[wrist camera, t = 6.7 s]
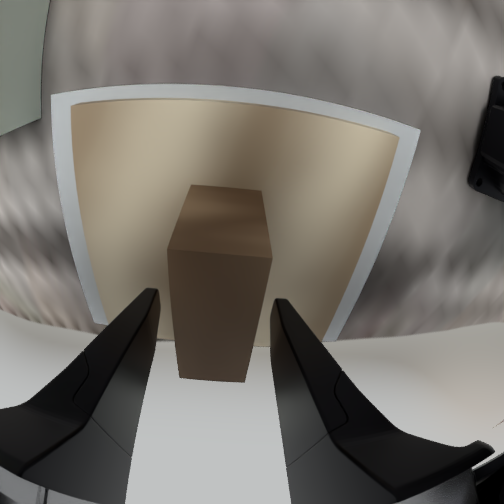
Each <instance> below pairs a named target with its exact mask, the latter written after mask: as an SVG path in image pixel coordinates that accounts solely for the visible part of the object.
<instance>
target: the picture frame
mask: <svg viewBox="0 0 504 504" xmlns="http://www.w3.org/2000/svg"><path fill="white" fill-rule="evenodd" d="M132 98H194V99H213V100H226V101H237V102H246V103H255V104H263V105H270V106H277V107H283V108H289V109H295V110H301V111H306V112H311V113H316V114H321V115H326V116H330V117H335V118H339V119H343V120H347V121H351V122H355V123H359V124H363V125H366V126H370V127H374V128H377V129H380V130H384V131H387V132H390V133H392V134H394V135H396V136H398V137H400V138H399V142H398V145H397V149H396V153H395V156H394V160H393V163H392V166H391V170H390V173H389V176H388V179H387V183H386V186H385V189H384V192H383V195H382V198H381V201H380V204H379V207H378V210H377V213H376V215H375V218H374V221H373V224H372V226H371V229H370V232H369V235H368V237H367V240H366V242H365V245H364V248H363V250H362V253H361V255H360V258H359V260H358V263H357V265H356V267H355V270H354V272H353V275H352V277H351V279H350V282H349V284H348V286H347V289H346V291H345V293H344V295H343V298H342V300H341V302H340V304H339V306H338V309H337V311H336V313H335V315H334V317H333V319H332V321H331V324H330V326H329V328H328V330H327V332H326V334H325V336H324V338H323V340H322V341H336V340H337V338H338V336H339V334H340V332H341V330H342V328H343V327H344V325H345V323H346V321H347V319H348V317H349V315H350V313H351V311H352V309H353V307H354V305H355V303H356V301H357V299H358V297H359V295H360V293H361V291H362V289H363V286H364V284H365V282H366V280H367V278H368V276H369V273H370V271H371V269H372V267H373V264H374V262H375V260H376V258H377V255H378V253H379V251H380V248H381V246H382V243H383V241H384V238H385V236H386V234H387V231H388V228H389V226H390V223H391V221H392V218H393V215H394V213H395V210H396V207H397V205H398V202H399V199H400V196H401V193H402V190H403V187H404V184H405V181H406V178H407V175H408V172H409V169H410V166H411V163H412V159H413V156H414V153H415V149H416V146H417V142H418V138H419V135H420V131H421V130H419V129H417V128H414V127H412V126H409V125H406V124H403V123H400V122H398V121H395V120H392V119H389V118H386V117H382V116H379V115H376V114H373V113H369V112H366V111H362V110H359V109H355V108H351V107H348V106H344V105H340V104H336V103H331V102H327V101H323V100H318V99H313V98H308V97H303V96H298V95H293V94H287V93H281V92H274V91H267V90H260V89H252V88H243V87H233V86H221V85H205V84H135V85H119V86H108V87H98V88H90V89H82V90H75V91H69V92H63V93H57V94H53V95H51V117H52V136H53V149H54V159H55V167H56V175H57V182H58V189H59V195H60V201H61V206H62V212H63V217H64V221H65V226H66V231H67V235H68V239H69V243H70V247H71V251H72V255H73V259H74V262H75V266H76V269H77V273H78V276H79V279H80V283H81V286H82V289H83V292H84V295H85V298H86V301H87V304H88V307H89V310H90V312H91V315H92V318H93V320H94V323H98V324H104V325H109V324H108V321H107V318H106V315H105V312H104V309H103V306H102V302H101V299H100V296H99V292H98V289H97V285H96V282H95V278H94V274H93V270H92V266H91V262H90V258H89V254H88V250H87V245H86V240H85V236H84V231H83V225H82V220H81V214H80V208H79V202H78V196H77V188H76V181H75V172H74V162H73V151H72V135H71V105H75V104H78V103H82V102H91V101H101V100H114V99H132Z"/></svg>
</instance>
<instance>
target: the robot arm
mask: <svg viewBox="0 0 504 504" xmlns="http://www.w3.org/2000/svg"><path fill="white" fill-rule="evenodd" d="M469 185H470V186H471V187H472V188H473V189H475V190H476V191H478V192H481V193H483V194H486V195H488V196H491V197H493V198H495V199H498V200H500V201H502V202H504V77H501V76H496V77H495V78H494V82H493V88H492V94H491V99H490V104H489V109H488V114H487V118H486V122H485V126H484V130H483V134H482V138H481V141H480V145H479V148H478V152H477V155H476V158H475V162H474V165H473V168H472V171H471V174H470V177H469ZM160 312H161V303H160V295H159V290H158V289H157V288H149V287H148V288H145V289H144V290H143V291H142V292H141V293H140V294H139V295H138V296H137V297H136V298H135V299H134V300H133V301H132V302H131V303H130V304H129V305H128V306H127V307H126V308H125V309H124V310H123V311H122V312H121V313H120V314H119V315H118V316H117V317H116V318H115V319H114V320H113V321H112V322H111V323H110V324H109V325H108V326H107V327H106V328H105V329H104V330H103V331H102V332H101V333H100V334H99V335H98V336H97V337H96V338H95V339H94V340H93V341H92V342H91V343H90V344H89V345H88V346H87V347H86V348H85V349H84V351H82V352H81V353H80V355H78V356H77V357H76V358H75V359H74V360H73V361H72V362H71V363H70V364H69V365H68V367H66V369H64V370H63V371H62V372H61V373H60V374H59V375H58V376H56V377H55V378H54V379H53V380H52V381H51V382H49V383H48V384H47V385H46V386H45V387H44V388H43V389H41V390H40V391H39V392H38V393H37V394H36V395H34V396H33V397H32V398H31V399H30V400H28V401H27V402H25V403H23V404H21V405H18V406H14V407H9V408H4V409H0V504H125V499H126V490H127V484H128V478H129V472H130V466H131V460H132V458H131V457H132V453H133V448H134V443H135V437H136V432H137V427H138V422H139V417H140V413H141V407H142V403H143V399H144V394H145V390H146V386H147V382H148V377H149V373H150V368H151V365H152V361H153V357H154V353H155V346H156V340H157V333H158V326H159V319H160ZM270 354H271V355H270V356H271V366H272V373H273V380H274V386H275V393H276V400H277V406H278V413H279V420H280V428H281V435H282V441H283V447H284V455H285V462H286V467H287V468H286V470H287V477H288V484H289V491H290V498H291V504H504V452H503V453H501V454H500V455H498V456H496V457H495V458H493V459H491V460H490V461H488V462H486V463H484V464H482V465H480V466H479V467H477V468H475V469H473V470H472V467H473V466H475V465H476V464H478V463H479V462H481V461H483V460H484V459H486V458H487V457H489V456H490V455H492V454H493V453H494V452H495V450H494V449H493V448H492V447H491V446H490V445H489V444H486V443H484V442H481V441H479V440H477V441H475V442H473V443H471V444H470V445H467V446H465V447H453V446H448V445H445V444H441V443H437V442H434V441H430V440H427V439H423V438H420V437H417V436H414V435H411V434H408V433H405V432H403V431H401V430H400V429H398V428H397V427H395V426H394V425H393V424H392V423H391V422H390V421H389V420H388V419H387V418H386V417H385V416H384V415H383V414H382V413H381V412H380V411H379V410H378V409H377V408H376V407H375V406H374V405H373V404H372V403H371V402H370V401H369V400H368V399H367V398H366V397H365V396H364V395H363V394H362V393H361V392H360V391H359V390H358V388H357V387H356V386H355V385H354V383H353V382H352V381H351V380H350V379H349V377H348V376H347V375H346V374H345V372H344V371H342V369H341V367H340V366H339V365H338V364H337V362H336V361H335V360H334V358H333V357H332V356H331V354H330V353H329V352H328V351H327V349H326V348H325V347H324V345H323V344H322V343H321V342H320V340H319V339H318V338H317V336H316V335H315V334H314V333H313V331H312V330H311V329H310V327H309V326H308V325H307V324H306V322H305V321H304V320H303V318H302V317H301V316H300V315H299V313H298V312H297V311H296V310H295V308H294V307H293V306H292V304H291V303H290V302H289V301H288V299H286V298H276V299H275V300H274V302H273V306H272V310H271V314H270Z"/></svg>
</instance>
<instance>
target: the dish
mask: <svg viewBox="0 0 504 504" xmlns="http://www.w3.org/2000/svg"><path fill="white" fill-rule="evenodd" d="M49 4H50V0H0V136H1V135H3V134H5V133H8V132H10V131H12V130H14V129H16V128H19V127H21V126H23V125H26V124H28V123H30V122H33V121H35V120H38V119H40V118H41V69H42V54H43V43H44V35H45V27H46V21H47V15H48V9H49Z"/></svg>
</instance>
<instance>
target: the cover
mask: <svg viewBox="0 0 504 504" xmlns="http://www.w3.org/2000/svg"><path fill="white" fill-rule="evenodd" d="M71 135H72V151H73V162H74V172H75V181H76V188H77V196H78V202H79V208H80V214H81V220H82V225H83V231H84V236H85V240H86V245H87V250H88V254H89V258H90V262H91V266H92V270H93V274H94V278H95V282H96V285H97V289H98V292H99V296H100V299H101V302H102V306H103V309H104V312H105V315H106V318H107V321H108V324H110V323H111V322H112V321H113V320H114V319H115V318H116V317H117V316H118V315H119V314H120V313H121V312H122V311H123V310H124V309H125V308H126V307H127V306H128V305H129V304H130V303H131V302H132V301H133V300H134V299H135V298H136V297H137V296H138V295H139V294H140V293H141V292H142V291H143V290H144V289H145V288H148V287H149V288H157V289H158V290H159V295H160V303H161V312H160V319H159V326H158V333H157V338H158V339H166V340H175V348H176V355H177V363H178V370H179V377H180V378H187V379H197V380H208V381H209V380H210V381H223V382H245V378H246V374H247V370H248V366H249V362H250V357H251V353H252V349H253V346H257V347H270V314H271V310H272V306H273V302H274V300H275V299H276V298H286V299H288V301H289V302H290V303H291V304H292V306H293V307H294V308H295V310H296V311H297V312H298V313H299V315H300V316H301V317H302V318H303V320H304V321H305V322H306V324H307V325H308V326H309V327H310V329H311V330H312V331H313V333H314V334H315V335H316V336H317V338H318V339H319V340H320V342H322V340H323V338H324V336H325V334H326V332H327V330H328V328H329V326H330V324H331V321H332V319H333V317H334V315H335V313H336V311H337V309H338V306H339V304H340V302H341V300H342V298H343V295H344V293H345V291H346V289H347V286H348V284H349V282H350V279H351V277H352V275H353V272H354V270H355V267H356V265H357V263H358V260H359V258H360V255H361V253H362V250H363V248H364V245H365V242H366V240H367V237H368V235H369V232H370V229H371V226H372V224H373V221H374V218H375V215H376V213H377V210H378V207H379V204H380V201H381V198H382V195H383V192H384V189H385V186H386V183H387V179H388V176H389V173H390V170H391V166H392V163H393V160H394V156H395V153H396V149H397V145H398V142H399V138H400V137H398V136H396V135H394V134H392V133H390V132H387V131H384V130H380V129H377V128H374V127H370V126H366V125H363V124H359V123H355V122H351V121H347V120H343V119H339V118H335V117H330V116H326V115H321V114H316V113H311V112H306V111H301V110H295V109H289V108H283V107H277V106H270V105H263V104H255V103H246V102H237V101H226V100H213V99H194V98H132V99H114V100H101V101H91V102H82V103H78V104H75V105H71Z"/></svg>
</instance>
